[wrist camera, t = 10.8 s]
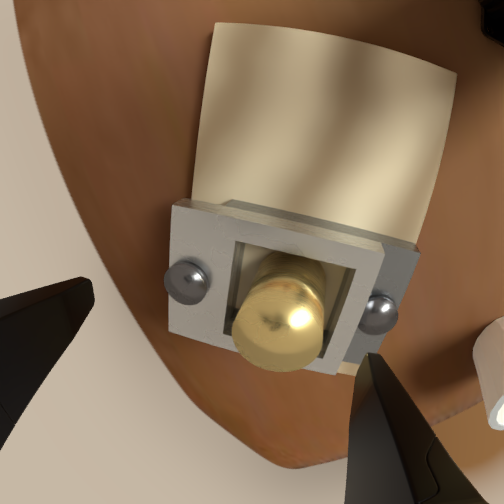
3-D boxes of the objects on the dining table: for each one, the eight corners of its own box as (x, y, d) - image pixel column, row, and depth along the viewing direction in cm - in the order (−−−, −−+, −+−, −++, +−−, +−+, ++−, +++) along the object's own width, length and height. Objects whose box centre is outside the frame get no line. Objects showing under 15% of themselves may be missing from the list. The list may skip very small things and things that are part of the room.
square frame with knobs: (415, 243, 17) (431, 270, 14) (368, 352, 21) (371, 388, 18) (192, 191, 19) (166, 207, 16) (185, 307, 23) (164, 336, 20)
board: (451, 75, 13) (457, 73, 13) (356, 367, 23) (357, 376, 22) (220, 26, 15) (215, 22, 14) (188, 325, 25) (183, 332, 24)
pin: (334, 257, 19) (334, 314, 13) (316, 315, 21) (308, 379, 15) (263, 240, 19) (237, 290, 14) (252, 299, 21) (227, 359, 16)
